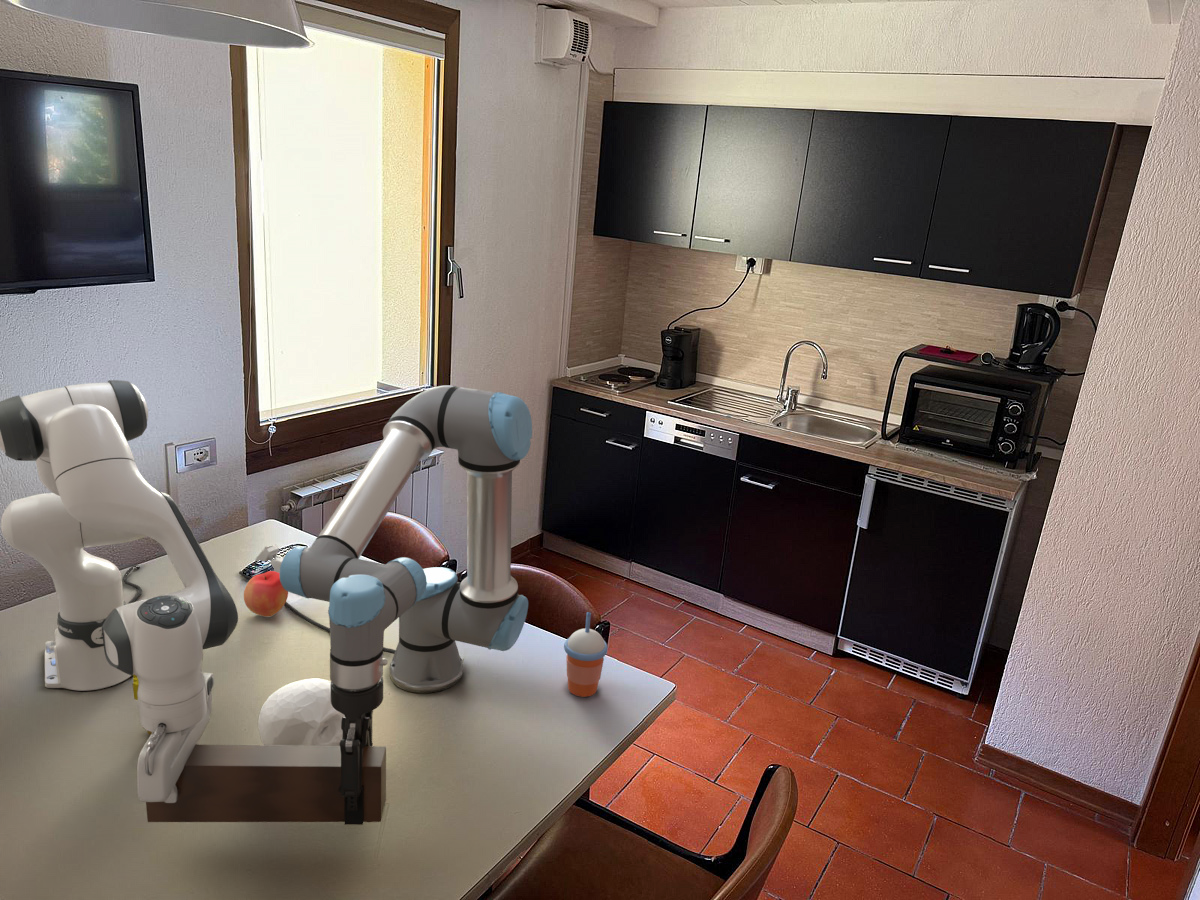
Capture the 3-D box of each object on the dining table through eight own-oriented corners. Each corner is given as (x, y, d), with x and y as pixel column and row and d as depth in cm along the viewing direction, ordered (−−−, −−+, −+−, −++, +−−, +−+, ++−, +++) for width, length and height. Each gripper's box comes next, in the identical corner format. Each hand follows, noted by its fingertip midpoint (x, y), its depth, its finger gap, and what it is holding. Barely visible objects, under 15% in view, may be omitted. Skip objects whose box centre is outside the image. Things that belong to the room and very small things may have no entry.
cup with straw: (599, 704, 176) (605, 627, 171) (556, 696, 178) (561, 619, 172) (607, 681, 185) (614, 606, 179) (566, 673, 186) (572, 599, 181)
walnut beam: (147, 822, 127) (142, 765, 124) (160, 799, 132) (156, 743, 129) (381, 822, 131) (381, 767, 128) (385, 799, 135) (386, 746, 132)
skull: (353, 805, 143) (354, 722, 139) (242, 771, 149) (240, 691, 144) (394, 760, 155) (396, 682, 151) (290, 730, 161) (289, 655, 157)
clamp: (253, 565, 223) (254, 542, 221) (265, 560, 226) (266, 537, 224) (309, 593, 215) (310, 569, 213) (320, 588, 218) (321, 564, 216)
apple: (273, 600, 207) (272, 562, 204) (297, 613, 202) (296, 575, 199) (237, 614, 200) (234, 575, 197) (261, 628, 194) (259, 588, 191)
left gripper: (169, 750, 115) (177, 834, 119) (217, 667, 134) (222, 742, 138) (120, 750, 114) (129, 835, 118) (175, 667, 133) (181, 743, 137)
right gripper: (372, 715, 117) (372, 853, 124) (392, 647, 135) (390, 771, 141) (316, 714, 117) (319, 853, 123) (343, 646, 134) (344, 771, 141)
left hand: (179, 784), depth 128 cm, fingers closed on walnut beam, 5 cm apart
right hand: (357, 809), depth 132 cm, fingers closed on walnut beam, 5 cm apart
